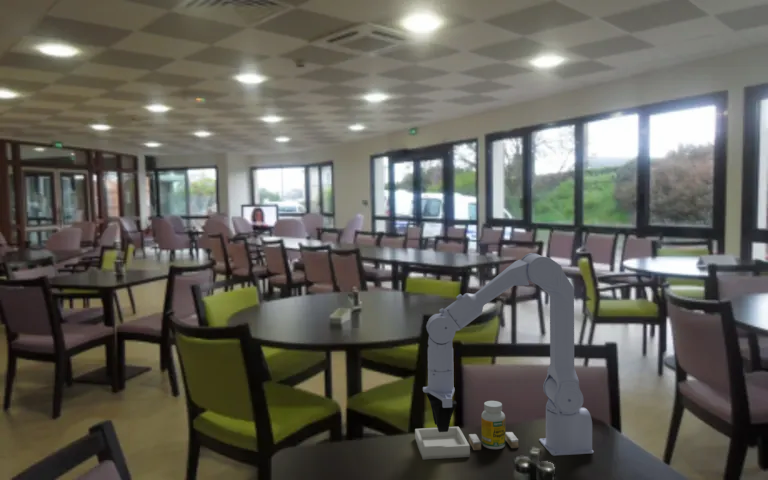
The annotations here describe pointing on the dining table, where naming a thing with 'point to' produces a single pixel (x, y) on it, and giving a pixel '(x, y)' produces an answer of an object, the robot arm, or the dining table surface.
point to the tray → (441, 443)
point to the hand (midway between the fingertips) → (441, 427)
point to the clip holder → (509, 438)
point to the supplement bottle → (493, 425)
